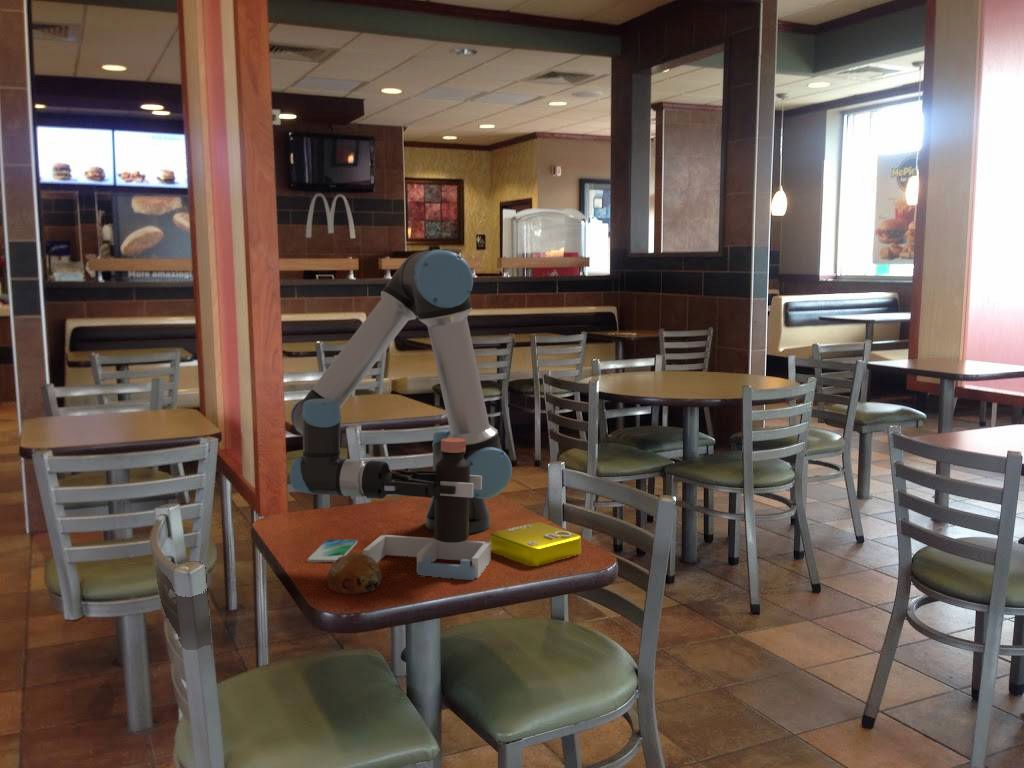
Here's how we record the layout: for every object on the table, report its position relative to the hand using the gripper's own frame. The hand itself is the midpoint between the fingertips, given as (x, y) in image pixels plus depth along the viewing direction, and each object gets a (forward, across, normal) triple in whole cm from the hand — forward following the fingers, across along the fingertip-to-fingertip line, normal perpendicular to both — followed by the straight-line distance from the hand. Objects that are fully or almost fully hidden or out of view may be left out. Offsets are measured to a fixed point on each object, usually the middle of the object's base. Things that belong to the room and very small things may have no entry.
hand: (477, 486), depth 176 cm
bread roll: (-20, +14, -18) cm, 30 cm away
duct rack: (-10, 0, -17) cm, 20 cm away
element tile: (+10, -14, -18) cm, 25 cm away
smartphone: (-33, -5, -18) cm, 38 cm away
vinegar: (-5, 0, -11) cm, 12 cm away
